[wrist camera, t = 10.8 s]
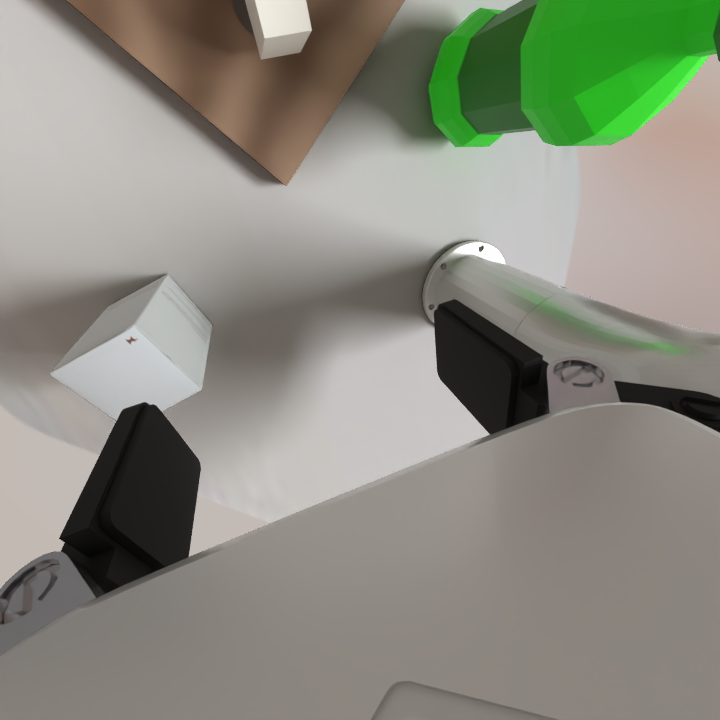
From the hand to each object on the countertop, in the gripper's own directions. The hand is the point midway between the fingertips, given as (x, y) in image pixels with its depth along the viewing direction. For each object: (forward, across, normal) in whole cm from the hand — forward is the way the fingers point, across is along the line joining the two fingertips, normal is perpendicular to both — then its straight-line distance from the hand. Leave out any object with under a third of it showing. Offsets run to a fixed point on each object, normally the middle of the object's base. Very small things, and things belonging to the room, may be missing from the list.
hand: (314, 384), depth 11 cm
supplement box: (+28, +14, +6) cm, 32 cm away
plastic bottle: (+28, -23, -8) cm, 37 cm away
